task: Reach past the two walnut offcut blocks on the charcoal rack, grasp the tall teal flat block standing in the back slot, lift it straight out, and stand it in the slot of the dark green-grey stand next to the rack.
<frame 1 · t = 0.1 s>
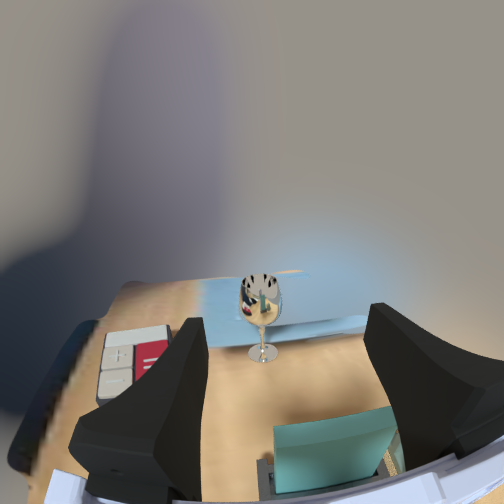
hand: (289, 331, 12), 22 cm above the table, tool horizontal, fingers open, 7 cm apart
wineglass: (263, 354, 43), on the table
stand: (427, 456, 22), on the table
teal flat block: (322, 482, 21), point 1 cm above the table, touching rack
calculator: (141, 377, 39), on the table
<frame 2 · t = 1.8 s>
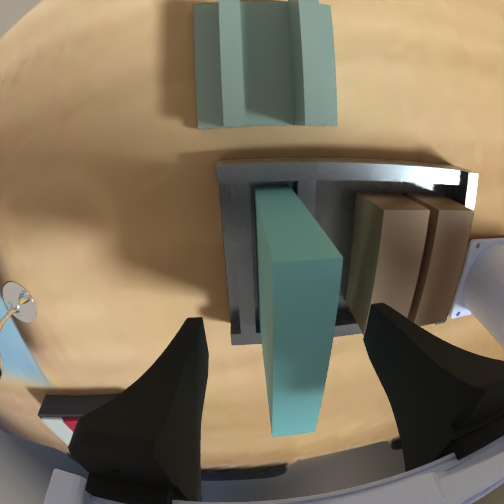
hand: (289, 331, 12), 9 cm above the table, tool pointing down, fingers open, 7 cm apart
offcut b: (371, 249, 19), point 1 cm above the table, touching rack
wineglass: (20, 301, 21), on the table
stand: (264, 62, 15), on the table
teal flat block: (272, 255, 19), point 1 cm above the table, touching rack
calculator: (113, 419, 29), on the table
offcut a: (415, 246, 19), point 1 cm above the table, touching rack
rack: (342, 244, 20), on the table
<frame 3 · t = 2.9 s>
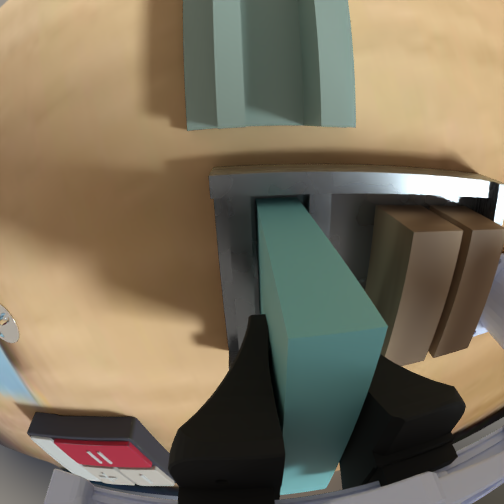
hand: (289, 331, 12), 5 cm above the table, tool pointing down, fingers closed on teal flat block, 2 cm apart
offcut b: (390, 270, 16), point 1 cm above the table, touching rack
wineglass: (2, 320, 18), on the table
stand: (268, 50, 12), on the table
teal flat block: (277, 279, 16), point 1 cm above the table, touching gripper, rack
calculator: (106, 439, 26), on the table
offcut a: (437, 265, 17), point 1 cm above the table, touching rack
rack: (357, 265, 17), on the table
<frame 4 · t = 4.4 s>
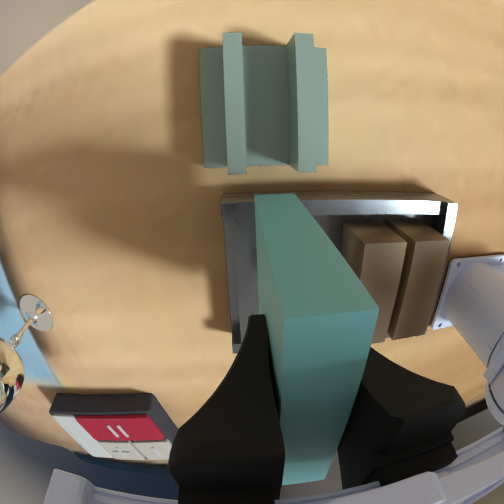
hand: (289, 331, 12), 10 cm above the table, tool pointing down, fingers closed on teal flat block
offcut b: (357, 271, 22), point 1 cm above the table, touching rack
wineglass: (37, 312, 24), on the table
stand: (264, 104, 18), on the table
teal flat block: (275, 274, 17), point 6 cm above the table, touching gripper
calculator: (120, 417, 32), on the table
offcut a: (397, 267, 22), point 1 cm above the table, touching rack
rack: (331, 266, 23), on the table
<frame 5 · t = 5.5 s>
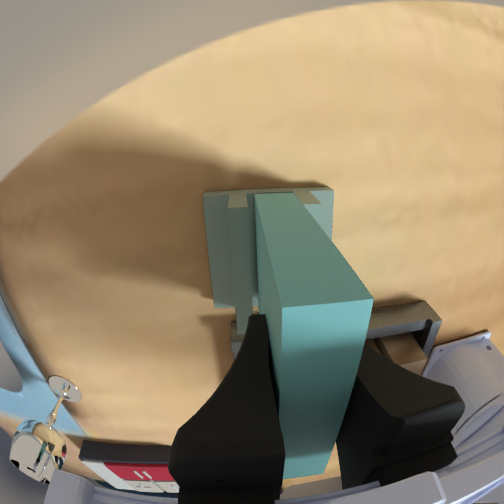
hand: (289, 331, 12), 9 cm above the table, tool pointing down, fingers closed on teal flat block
wineglass: (65, 387, 26), on the table
stand: (269, 247, 20), on the table
teal flat block: (275, 272, 17), point 4 cm above the table, touching gripper
calculator: (142, 458, 34), on the table
offcut a: (383, 364, 25), point 1 cm above the table, touching rack
rack: (325, 365, 25), on the table
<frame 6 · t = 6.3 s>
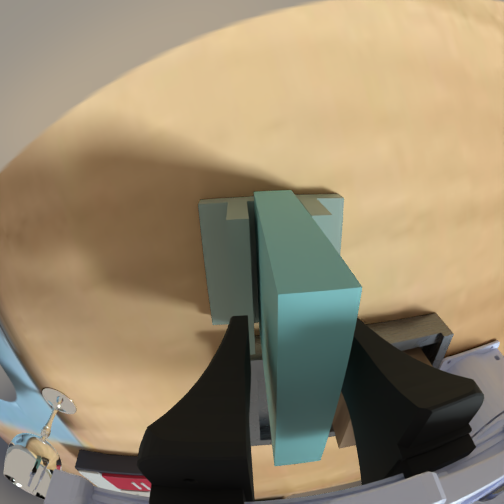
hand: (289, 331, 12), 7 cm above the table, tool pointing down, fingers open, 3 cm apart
offcut b: (352, 385, 23), point 1 cm above the table, touching rack
wineglass: (59, 399, 25), on the table
stand: (272, 259, 19), on the table
teal flat block: (273, 266, 18), point 1 cm above the table, touching stand
calculator: (140, 468, 32), on the table
rack: (329, 380, 24), on the table
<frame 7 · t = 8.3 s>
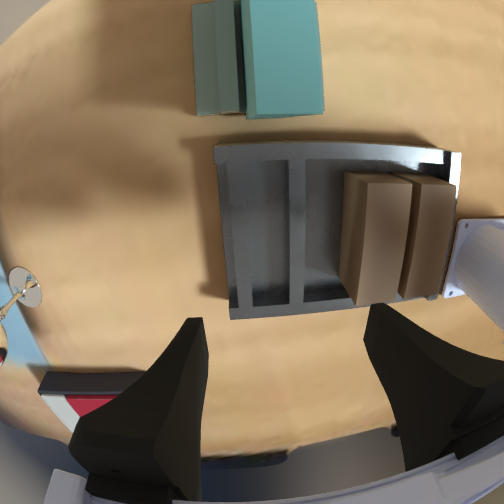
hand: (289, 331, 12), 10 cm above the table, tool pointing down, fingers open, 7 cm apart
offcut b: (361, 226, 21), point 1 cm above the table, touching rack
wineglass: (26, 286, 23), on the table
stand: (257, 55, 16), on the table
teal flat block: (258, 51, 15), point 1 cm above the table, touching stand
calculator: (114, 400, 30), on the table
offcut a: (404, 224, 21), point 1 cm above the table, touching rack
rack: (333, 222, 21), on the table
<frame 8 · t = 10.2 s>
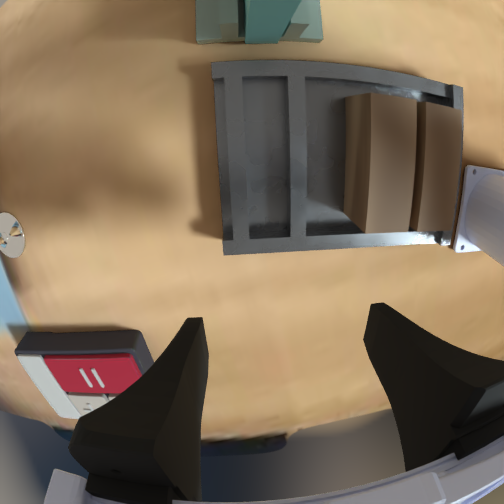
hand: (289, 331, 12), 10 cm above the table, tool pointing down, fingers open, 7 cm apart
offcut b: (365, 156, 19), point 1 cm above the table, touching rack
wineglass: (9, 234, 20), on the table
calculator: (97, 367, 28), on the table
offcut a: (410, 159, 19), point 1 cm above the table, touching rack
rack: (336, 153, 19), on the table
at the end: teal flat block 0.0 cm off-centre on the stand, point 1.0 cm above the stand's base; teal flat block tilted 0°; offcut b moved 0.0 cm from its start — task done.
